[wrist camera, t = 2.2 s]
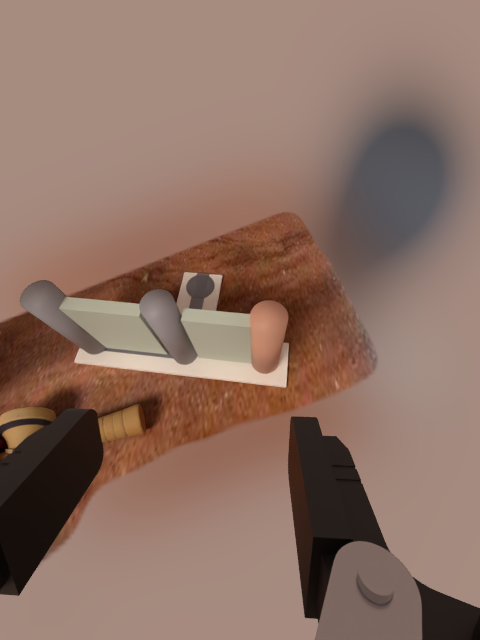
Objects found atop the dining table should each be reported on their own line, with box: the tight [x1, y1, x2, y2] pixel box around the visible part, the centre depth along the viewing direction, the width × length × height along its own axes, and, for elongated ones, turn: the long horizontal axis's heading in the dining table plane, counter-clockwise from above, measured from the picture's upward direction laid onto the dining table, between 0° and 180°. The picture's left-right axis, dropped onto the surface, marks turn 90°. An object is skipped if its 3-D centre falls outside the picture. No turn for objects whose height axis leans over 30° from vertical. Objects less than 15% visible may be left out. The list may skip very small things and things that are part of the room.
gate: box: [181, 300, 288, 374], centre depth 28 cm, size 9×3×10 cm, turn 83°
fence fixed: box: [20, 280, 197, 365], centre depth 29 cm, size 13×3×11 cm, turn 83°
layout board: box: [74, 272, 289, 388], centre depth 36 cm, size 24×14×1 cm, turn 83°
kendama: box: [0, 404, 146, 462], centre depth 28 cm, size 8×6×18 cm
